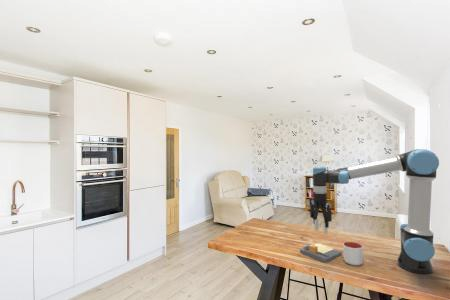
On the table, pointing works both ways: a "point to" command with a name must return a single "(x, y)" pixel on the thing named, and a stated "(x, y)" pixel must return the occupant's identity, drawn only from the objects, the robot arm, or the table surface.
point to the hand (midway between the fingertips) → (321, 231)
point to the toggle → (313, 249)
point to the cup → (353, 253)
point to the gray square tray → (321, 253)
